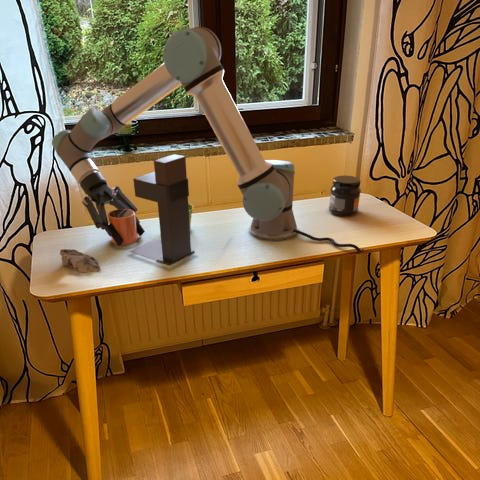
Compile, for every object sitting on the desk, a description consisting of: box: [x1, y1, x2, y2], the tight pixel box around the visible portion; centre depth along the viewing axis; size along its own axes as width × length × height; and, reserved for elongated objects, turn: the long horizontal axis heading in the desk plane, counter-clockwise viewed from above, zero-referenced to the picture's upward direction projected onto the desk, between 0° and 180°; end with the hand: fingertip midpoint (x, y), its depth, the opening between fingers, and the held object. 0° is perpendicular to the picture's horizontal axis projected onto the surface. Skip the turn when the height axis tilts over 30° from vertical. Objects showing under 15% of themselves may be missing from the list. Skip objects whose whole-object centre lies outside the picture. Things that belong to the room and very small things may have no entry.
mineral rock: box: [59, 248, 101, 274], centre depth 144 cm, size 15×8×4 cm, turn 36°
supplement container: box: [328, 175, 362, 217], centre depth 180 cm, size 10×10×12 cm
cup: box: [107, 209, 139, 246], centre depth 157 cm, size 8×8×10 cm
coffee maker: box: [128, 153, 195, 267], centre depth 144 cm, size 16×11×30 cm, turn 54°
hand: (131, 238), depth 157 cm, fingers closed on cup, 8 cm apart
